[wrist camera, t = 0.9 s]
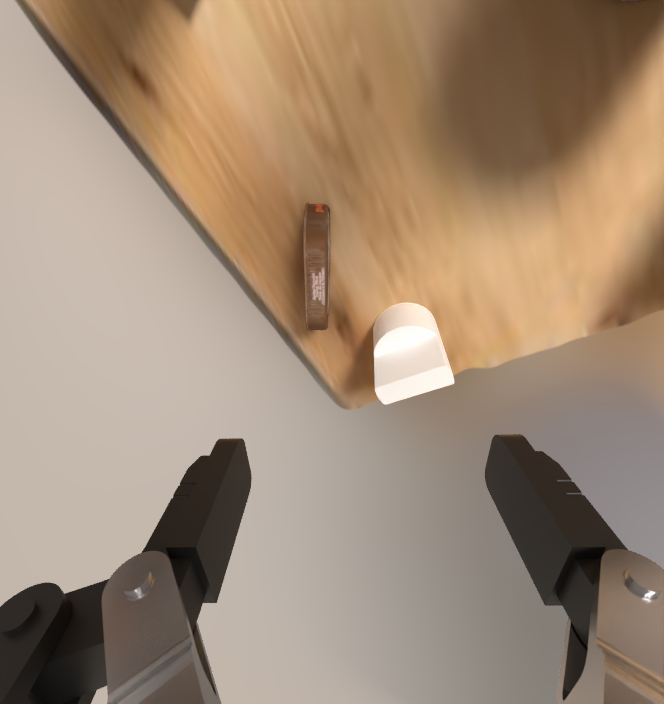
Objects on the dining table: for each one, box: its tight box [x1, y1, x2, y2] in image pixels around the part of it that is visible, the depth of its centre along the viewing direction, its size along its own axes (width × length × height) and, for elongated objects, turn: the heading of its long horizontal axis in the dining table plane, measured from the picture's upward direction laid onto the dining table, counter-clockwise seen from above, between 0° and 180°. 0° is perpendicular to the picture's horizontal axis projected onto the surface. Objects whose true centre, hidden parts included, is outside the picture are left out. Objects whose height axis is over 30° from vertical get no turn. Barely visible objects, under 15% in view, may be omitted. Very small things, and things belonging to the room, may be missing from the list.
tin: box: [303, 203, 330, 330], centre depth 39 cm, size 15×3×8 cm, turn 179°
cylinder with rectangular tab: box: [373, 303, 454, 405], centre depth 42 cm, size 9×9×12 cm
